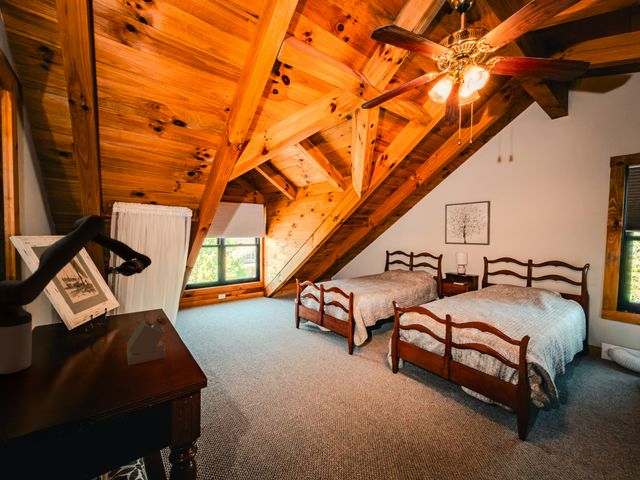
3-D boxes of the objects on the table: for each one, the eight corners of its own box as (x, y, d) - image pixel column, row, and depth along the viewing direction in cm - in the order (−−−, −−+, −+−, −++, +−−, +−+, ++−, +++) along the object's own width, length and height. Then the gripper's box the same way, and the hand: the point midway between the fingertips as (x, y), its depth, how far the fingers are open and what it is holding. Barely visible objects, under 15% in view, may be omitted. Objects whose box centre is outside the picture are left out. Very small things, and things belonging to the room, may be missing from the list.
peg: (135, 346, 115) (160, 316, 120) (135, 343, 118) (159, 315, 124) (144, 351, 117) (168, 321, 122) (143, 348, 120) (167, 319, 125)
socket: (128, 365, 110) (129, 328, 110) (126, 355, 119) (127, 320, 119) (165, 357, 118) (166, 323, 118) (161, 348, 127) (162, 316, 127)
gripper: (114, 260, 139) (99, 263, 124) (146, 260, 144) (136, 264, 128) (114, 275, 140) (99, 280, 124) (146, 275, 144) (136, 280, 129)
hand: (118, 272), depth 126 cm, fingers open, 8 cm apart
